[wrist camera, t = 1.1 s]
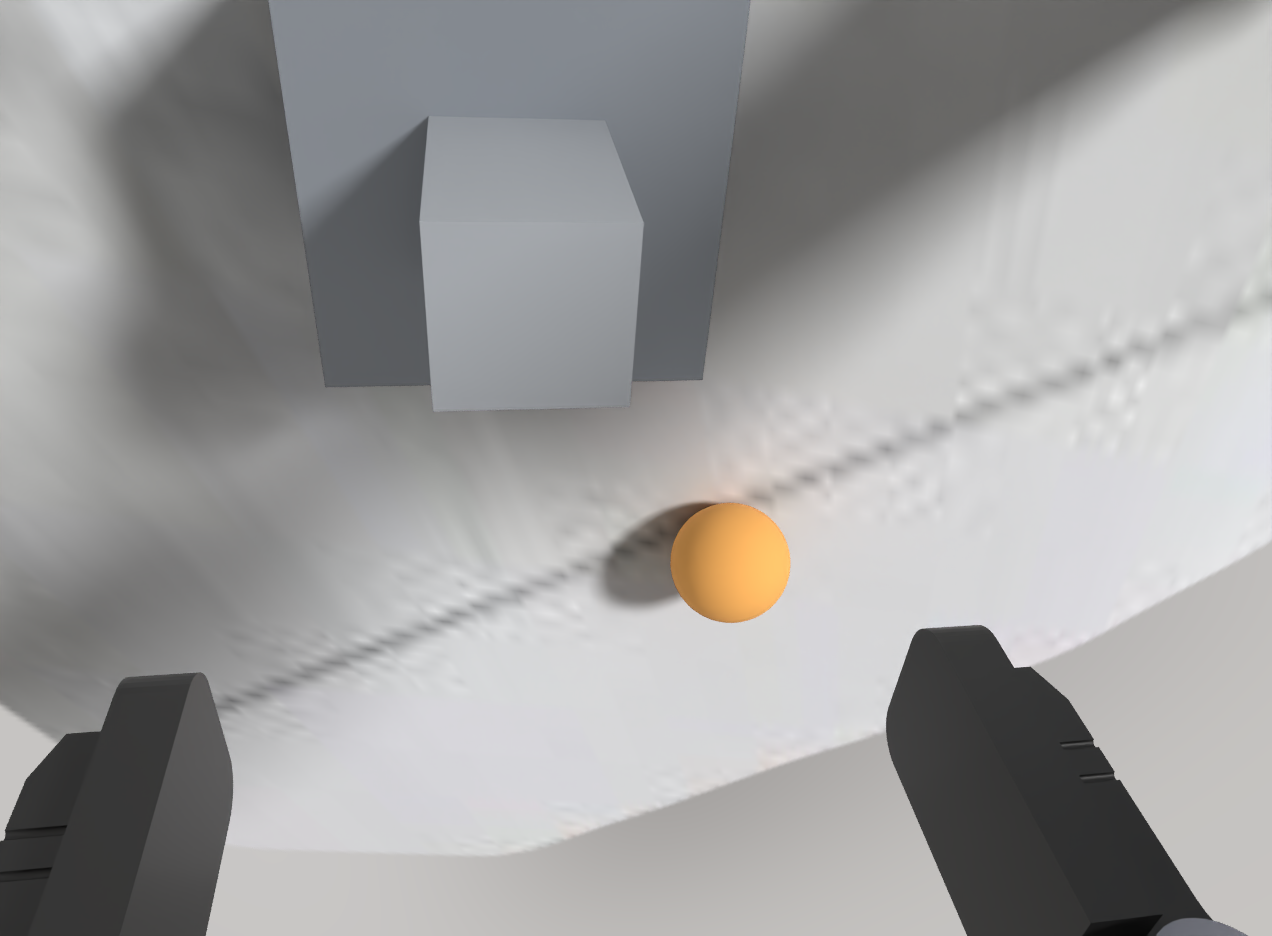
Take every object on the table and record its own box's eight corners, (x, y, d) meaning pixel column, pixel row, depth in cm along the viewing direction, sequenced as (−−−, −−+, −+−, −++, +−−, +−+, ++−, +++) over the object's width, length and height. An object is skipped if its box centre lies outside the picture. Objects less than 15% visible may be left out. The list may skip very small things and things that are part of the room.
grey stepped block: (680, -81, 28) (838, 49, 16) (652, 248, 34) (753, 516, 22) (314, -102, 26) (196, 24, 14) (354, 248, 32) (294, 535, 21)
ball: (781, 476, 41) (815, 555, 37) (764, 563, 44) (793, 644, 40) (666, 480, 40) (688, 561, 36) (656, 568, 43) (676, 651, 39)
